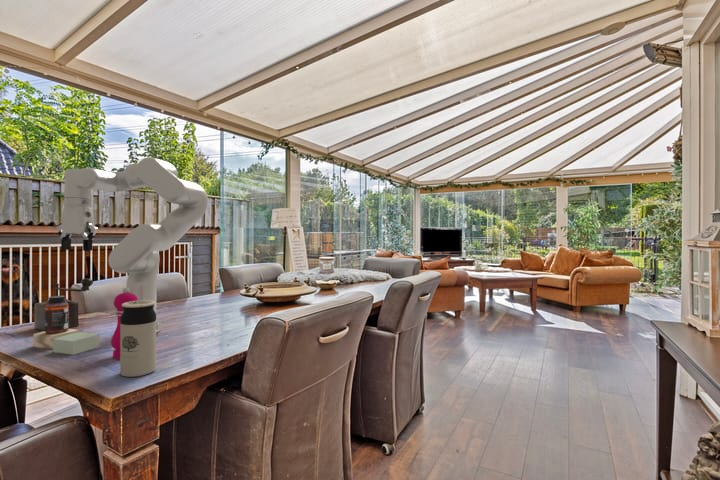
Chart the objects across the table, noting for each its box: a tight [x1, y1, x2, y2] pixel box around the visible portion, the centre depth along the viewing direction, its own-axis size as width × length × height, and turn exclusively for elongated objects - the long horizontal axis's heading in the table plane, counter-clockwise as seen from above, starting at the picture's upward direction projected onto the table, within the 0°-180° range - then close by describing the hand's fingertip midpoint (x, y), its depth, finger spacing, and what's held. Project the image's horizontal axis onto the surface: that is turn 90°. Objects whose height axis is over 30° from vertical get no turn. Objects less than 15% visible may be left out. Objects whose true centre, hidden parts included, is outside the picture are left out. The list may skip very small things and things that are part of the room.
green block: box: [52, 331, 100, 356], centre depth 115 cm, size 8×8×4 cm
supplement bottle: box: [45, 295, 70, 334], centre depth 120 cm, size 6×6×11 cm
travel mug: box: [119, 300, 157, 378], centre depth 97 cm, size 8×8×18 cm
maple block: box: [33, 328, 80, 350], centre depth 120 cm, size 8×8×4 cm
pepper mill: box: [110, 287, 138, 360], centre depth 110 cm, size 7×7×20 cm
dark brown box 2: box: [33, 277, 94, 332], centre depth 143 cm, size 16×11×18 cm
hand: (76, 250), depth 138 cm, fingers open, 9 cm apart
